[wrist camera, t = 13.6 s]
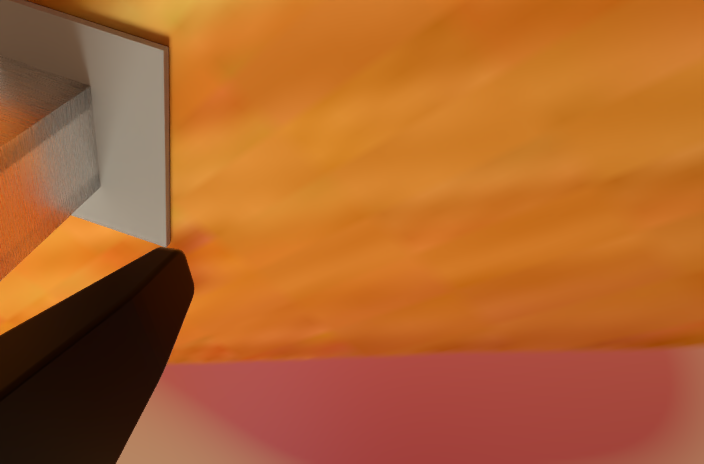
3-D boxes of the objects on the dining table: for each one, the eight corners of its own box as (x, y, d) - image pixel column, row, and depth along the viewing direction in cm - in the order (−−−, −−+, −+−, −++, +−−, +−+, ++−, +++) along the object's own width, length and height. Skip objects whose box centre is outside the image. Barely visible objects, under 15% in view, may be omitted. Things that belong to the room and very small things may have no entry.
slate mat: (168, 47, 22) (163, 50, 21) (170, 242, 29) (166, 247, 28) (-84, -35, 22) (-93, -33, 22) (-20, 178, 29) (-26, 182, 29)
